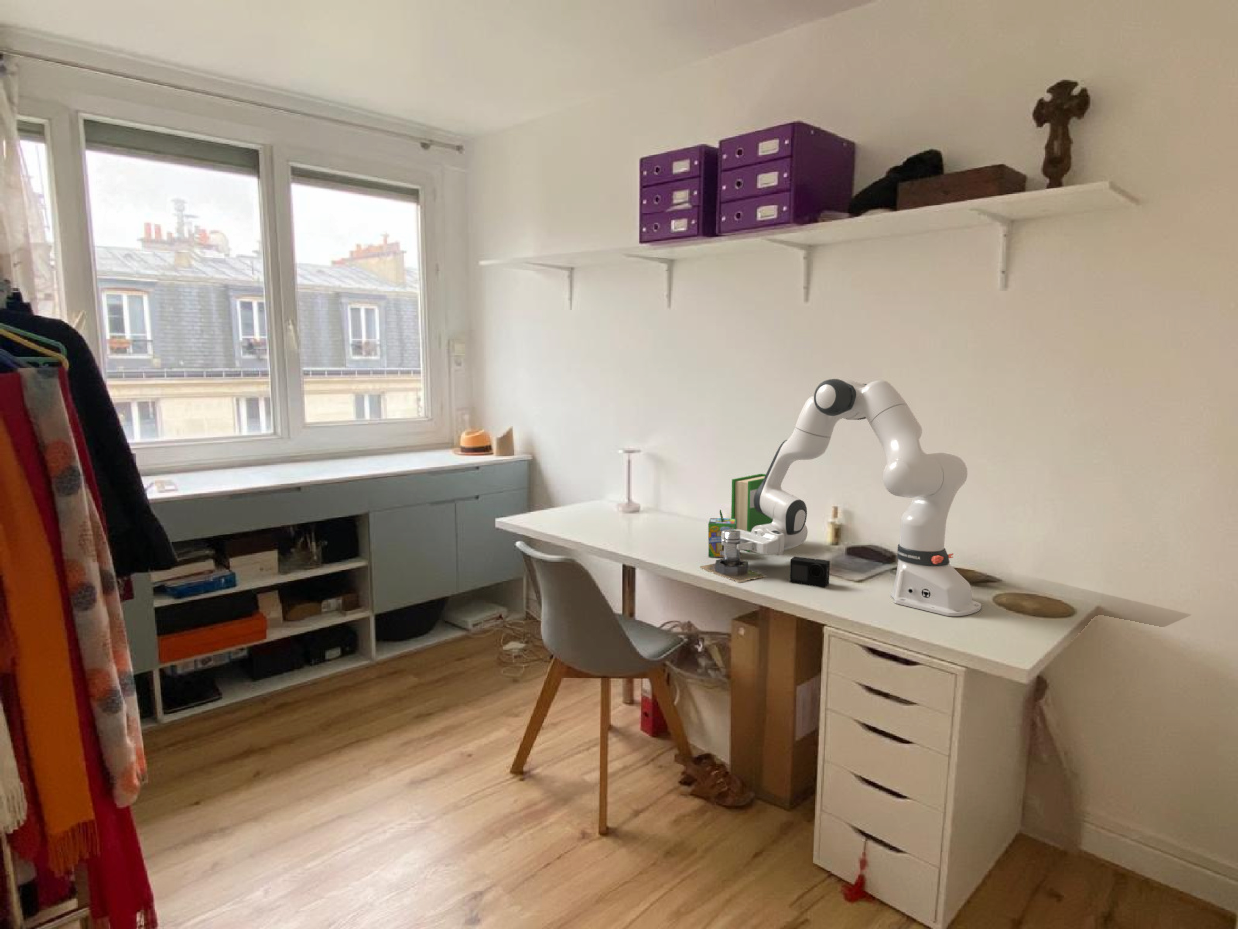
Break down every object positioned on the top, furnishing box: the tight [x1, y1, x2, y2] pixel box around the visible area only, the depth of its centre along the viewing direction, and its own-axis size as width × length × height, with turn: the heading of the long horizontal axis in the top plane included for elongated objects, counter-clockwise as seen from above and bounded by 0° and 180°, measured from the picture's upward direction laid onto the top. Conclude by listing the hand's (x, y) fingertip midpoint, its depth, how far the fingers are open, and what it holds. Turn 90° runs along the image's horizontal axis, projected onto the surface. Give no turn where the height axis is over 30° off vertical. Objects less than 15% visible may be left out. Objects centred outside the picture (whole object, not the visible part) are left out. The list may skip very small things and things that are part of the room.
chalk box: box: [707, 509, 737, 558], centre depth 243 cm, size 9×9×15 cm
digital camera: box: [789, 556, 831, 588], centre depth 210 cm, size 10×5×7 cm, turn 60°
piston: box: [723, 530, 741, 566], centre depth 221 cm, size 5×5×12 cm
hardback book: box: [730, 473, 773, 553], centre depth 254 cm, size 18×7×24 cm, turn 136°
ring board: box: [699, 558, 766, 583], centre depth 222 cm, size 18×10×3 cm, turn 33°
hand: (729, 544), depth 220 cm, fingers closed on piston, 5 cm apart
